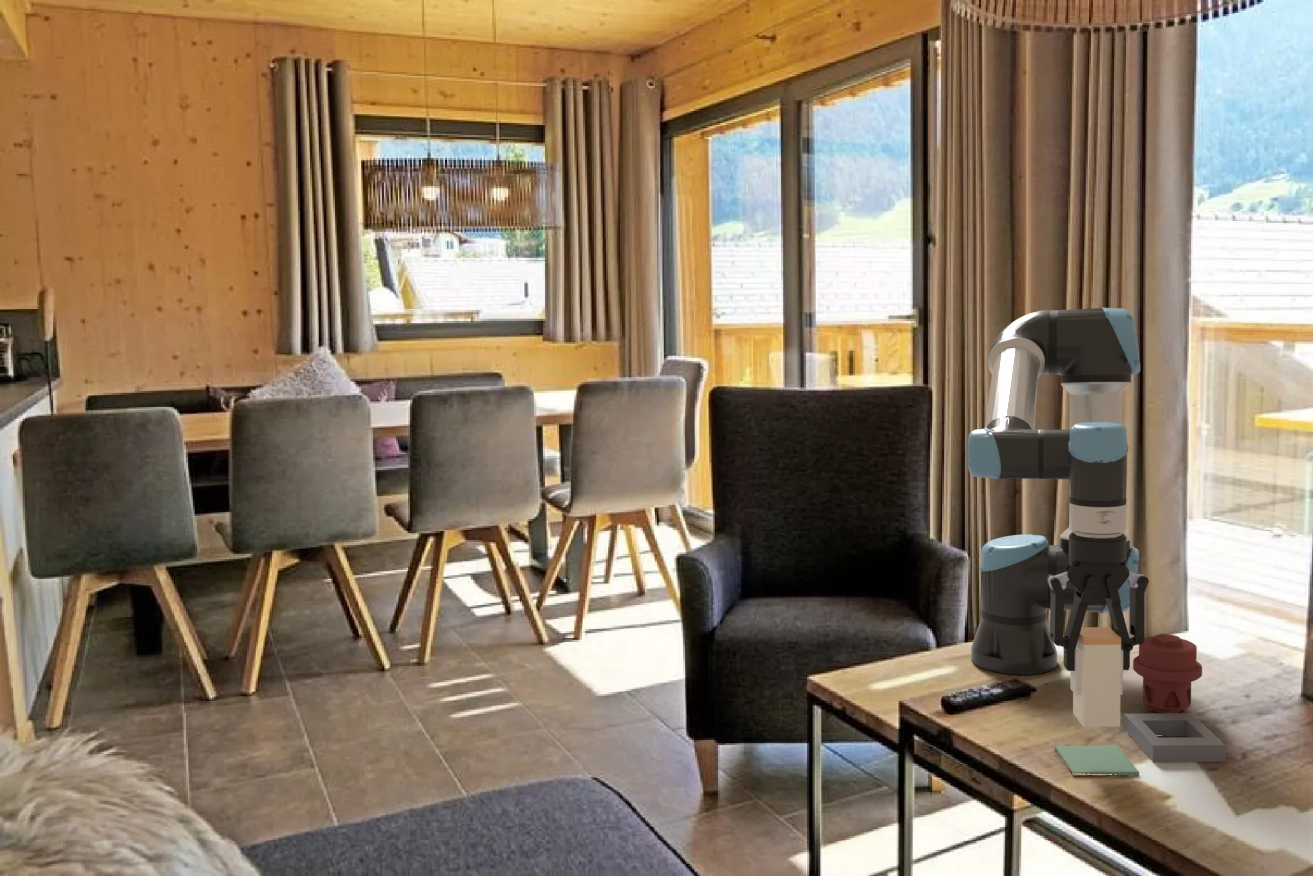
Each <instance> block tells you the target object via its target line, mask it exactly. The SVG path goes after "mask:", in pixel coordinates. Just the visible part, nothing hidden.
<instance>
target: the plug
mask: <svg viewBox="0 0 1313 876" xmlns="http://www.w3.org/2000/svg"><path fill="white" fill-rule="evenodd" d="M1077 647H1078V648H1079V649H1080V650H1081V651H1082V652H1081V695H1075V694H1074V692H1073V691H1072V693H1073V695H1072V714H1073V716H1074V717H1075V718H1076V719H1077V721H1078V722H1079V723H1080V724H1081V725H1082V727H1083V728H1121V695H1120V689H1121V637H1120V636H1119V635H1117V634H1116V633H1115V632H1114V629H1112V628H1111V627H1110V626H1105V627H1104V626H1101V627H1100V626H1099V627H1092V626H1090V627H1082V628H1081V631H1080V635H1079V639H1078V642H1077Z"/></svg>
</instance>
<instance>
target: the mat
mask: <svg viewBox="0 0 1313 876" xmlns="http://www.w3.org/2000/svg"><path fill="white" fill-rule="evenodd" d="M1055 749H1056V751H1057V752H1058V753H1059V755H1060V756H1061V758H1062V759H1063V760H1064V762H1066V764H1067V766H1068V767H1069V768H1070V769H1071V771H1072V772H1073V773H1082V774H1083V773H1085V774H1088V773H1089V774H1107V775H1108V774H1112V775H1115V774H1116V775H1139V776H1140V771H1139V770H1138V768H1137V767H1136V766H1135V765H1134V764H1133V763H1132V761H1131V760H1130V759H1129V758H1128V757H1127V756H1126V754H1125V753H1124V752H1123V751H1122V750H1121V748H1120V747H1119V745H1054V750H1055ZM1056 751H1055V752H1056ZM1057 752H1056V753H1057ZM1059 755H1058V756H1059ZM1060 756H1059V757H1060ZM1061 758H1060V759H1061ZM1062 759H1061V760H1062ZM1064 762H1063V763H1064Z"/></svg>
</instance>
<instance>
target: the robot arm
mask: <svg viewBox="0 0 1313 876" xmlns="http://www.w3.org/2000/svg"><path fill="white" fill-rule="evenodd" d="M988 351H989V352H988V358H987V367H988V370H989V372H990V374H991V380H990V386H989V393H988V403H987V409H986V417H985V423H984V424H985V425H984V428H981V429H974V430H972V431H970V433H969V434H968V439H967V467H968V472H969V474H970V475H971V476H972V477H975V478H987V479H993V480H998V479H1004V480H1005V479H1008V480H1009V479H1010V480H1011V479H1016V480H1017V479H1019V480H1022V479H1027V480H1030V479H1031V480H1034V479H1035V480H1036V479H1037V480H1039V479H1040V480H1066V481H1067V480H1069V483H1068V485H1069V489H1068V491H1069V492H1068V493H1069V495H1068V497H1069V499H1068V500H1069V503H1068V508H1069V509H1068V527H1067V528H1066V529H1065V530H1064V531H1063V532H1062V533H1061V534H1060V536H1059V545H1058V544H1057V545H1055V544H1049V541H1048V539H1047V537H1045V536H1044V535H1041V534H1040V535H1039V534H1035V535H1034V534H1025V533H1024V534H1013V535H1007V536H1002V537H997V538H994V539H991V540H990V541H988V542H985V544H984V545H983V546H982V548H981V551H980V552H981V553H980V565H979V568H978V569H979V571H980V620H979V624H978V626H977V629H976V633H975V635H974V638H973V642H972V644H971V650H970V651H971V654H970V655H971V656H970V657H971V662H972V663H973V664H975V665H976V666H978V667H980V668H982V669H984V670H987V671H991V672H994V673H995V672H996V673H1000V674H1008V675H1036V674H1042V673H1043V674H1044V673H1046V672H1050V671H1052V670H1054V669H1055V668H1056V667H1057V666H1058V651H1057V648H1056V646H1057V647H1062V649H1063V667H1064V669H1066V670H1067V672H1070V673H1069V676H1070V681H1069V682H1070V683H1069V684H1070V685H1069V689H1070V690H1071V691H1072V693H1073V692H1074V694H1075V695H1081V652H1082V651H1081V650H1080V649H1079V648H1078V647H1077V642H1078V639H1079V635H1080V631H1081V628H1083V624H1084V620H1085V616H1086V613H1087V612H1091V613H1092V612H1093V613H1099V614H1102V615H1103V614H1105V613H1109V618H1110V620H1111V625H1112V628H1113V629H1112V630H1113V631H1114V632H1115V633H1116V634H1117V635H1119V636H1120V637H1121V689H1120V696H1122V695H1124V693H1123V692H1124V690H1123V689H1124V671H1129V669H1130V667H1131V651H1133V649H1134V647H1135V646H1137V645H1138V646H1139V645H1142V644H1143V643H1144V638H1145V592H1146V590H1147V587H1148V584H1149V582H1150V581H1149V578H1148V577H1147V576H1145V574H1142V573H1141V572H1138V570H1139V559H1140V551H1139V550H1138V548H1136V547H1134V546H1131V537H1130V536H1128V534H1127V533H1126V531H1127V482H1128V479H1127V478H1128V454H1129V443H1128V430H1127V427H1125V425H1123V423H1122V411H1123V410H1122V408H1123V407H1122V405H1123V403H1122V399H1123V398H1122V397H1123V396H1122V395H1123V393H1124V392H1125V390H1127V388H1128V387H1129V386H1131V384H1132V375H1137V374H1139V373H1140V372H1141V361H1140V349H1139V342H1138V335H1137V329H1136V325H1135V320H1134V316H1133V314H1132V312H1131V311H1129V310H1128V309H1126V308H1120V307H1119V308H1116V307H1114V308H1113V307H1104V306H1103V307H1100V308H1099V307H1098V308H1095V307H1094V308H1093V307H1092V308H1075V309H1055V310H1052V309H1051V310H1050V309H1047V310H1046V309H1045V310H1037V311H1034V312H1030V313H1028V314H1025V315H1023V316H1021V317H1019V318H1017V319H1015V320H1014V321H1013V322H1011V323H1009V324H1008V325H1007V326H1006V327H1005V328H1003V329H1002V330H1001V332H999V334H997V336H996V337H995V339H994V341H993V342H992V344H991V345H990V349H989V350H988ZM1043 375H1050V376H1052V375H1053V376H1054V375H1056V376H1057V375H1058V376H1060V386H1061V387H1062V388H1063V389H1064V390H1065V391H1066V392H1067V393H1068V394H1069V429H1044V428H1043V429H1035V428H1036V417H1037V416H1036V414H1037V413H1036V411H1037V397H1038V396H1037V395H1038V381H1039V378H1040V377H1041V376H1043ZM1048 610H1049V612H1050V613H1049V619H1050V620H1049V623H1048ZM1065 611H1070V613H1069V616H1068V620H1067V623H1066V627H1065V629H1064V622H1065V621H1064V620H1065V619H1064V618H1065ZM1127 611H1129V629H1128V628H1127V627H1128V626H1127V624H1126V620H1125V619H1126V618H1125V617H1124V613H1125V612H1127ZM1064 630H1065V631H1064ZM1128 630H1129V631H1128Z"/></svg>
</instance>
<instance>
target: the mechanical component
mask: <svg viewBox="0 0 1313 876" xmlns="http://www.w3.org/2000/svg"><path fill="white" fill-rule="evenodd" d="M1197 649H1198V647H1197V645H1196V644H1195V643H1194V642H1191V641H1189V640H1188V639H1184V638H1181V637H1180V636H1178V635H1176V634H1175V635H1174V634H1171V633H1170V634H1169V633H1168V634H1167V633H1162V634H1161V633H1160V634H1155V635H1153V636H1147V637H1144V643H1143V644H1142V645H1138V655H1137V656H1136V657H1134V658H1133V659H1132V669H1133V671H1134V672H1135V673H1136V674H1137V675H1139V676H1141V677H1142V701H1143V702H1144V708H1145V709H1147V710H1149V709H1151V710H1150V711H1153V712H1155V713H1180V712H1181V711H1183V710H1185V709H1188V708H1190V707H1191V705H1192V704H1191V703H1192V682H1195V681H1197V680H1198V679H1200V678H1201V677H1202V676H1203V666H1202V664H1201V663H1200V662H1199V661H1197V652H1198V650H1197Z"/></svg>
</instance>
